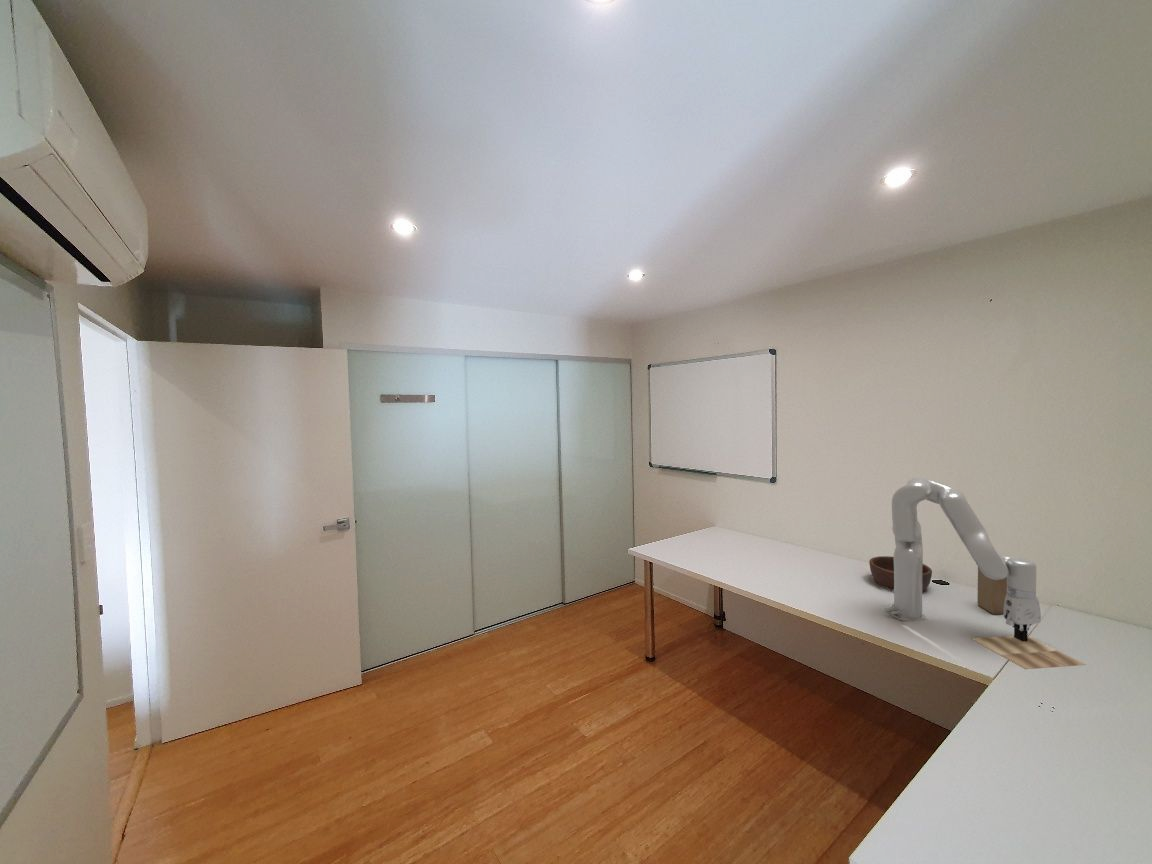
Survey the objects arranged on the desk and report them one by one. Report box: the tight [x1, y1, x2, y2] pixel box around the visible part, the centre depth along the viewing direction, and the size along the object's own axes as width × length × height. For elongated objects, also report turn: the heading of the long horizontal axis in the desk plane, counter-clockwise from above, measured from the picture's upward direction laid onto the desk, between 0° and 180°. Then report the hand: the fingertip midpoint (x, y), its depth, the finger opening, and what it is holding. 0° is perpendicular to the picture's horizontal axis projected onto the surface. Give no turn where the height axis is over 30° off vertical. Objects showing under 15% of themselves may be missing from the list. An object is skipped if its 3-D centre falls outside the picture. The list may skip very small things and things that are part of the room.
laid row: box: [1000, 650, 1087, 670], centre depth 144 cm, size 22×8×1 cm, turn 93°
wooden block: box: [977, 566, 1007, 616], centre depth 180 cm, size 10×10×20 cm
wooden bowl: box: [868, 555, 933, 592], centre depth 209 cm, size 25×25×10 cm
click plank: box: [971, 635, 1058, 656], centre depth 154 cm, size 22×10×1 cm, turn 93°
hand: (1020, 639), depth 157 cm, fingers closed
